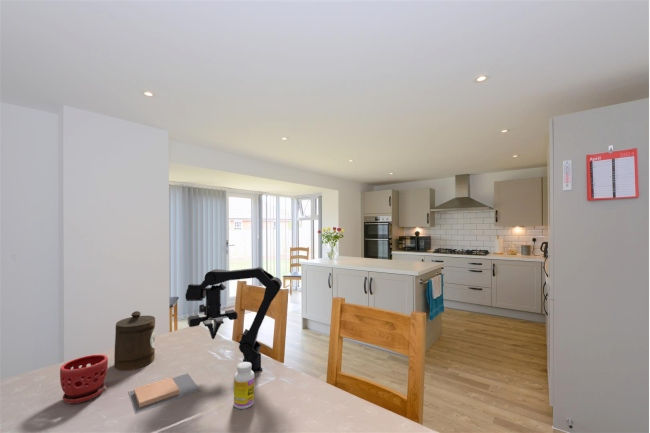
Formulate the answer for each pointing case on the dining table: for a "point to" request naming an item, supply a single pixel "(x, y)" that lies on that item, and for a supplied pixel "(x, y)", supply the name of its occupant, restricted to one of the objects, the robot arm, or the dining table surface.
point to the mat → (185, 389)
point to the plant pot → (83, 378)
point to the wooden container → (134, 342)
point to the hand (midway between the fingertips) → (213, 338)
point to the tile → (156, 391)
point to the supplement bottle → (244, 386)
